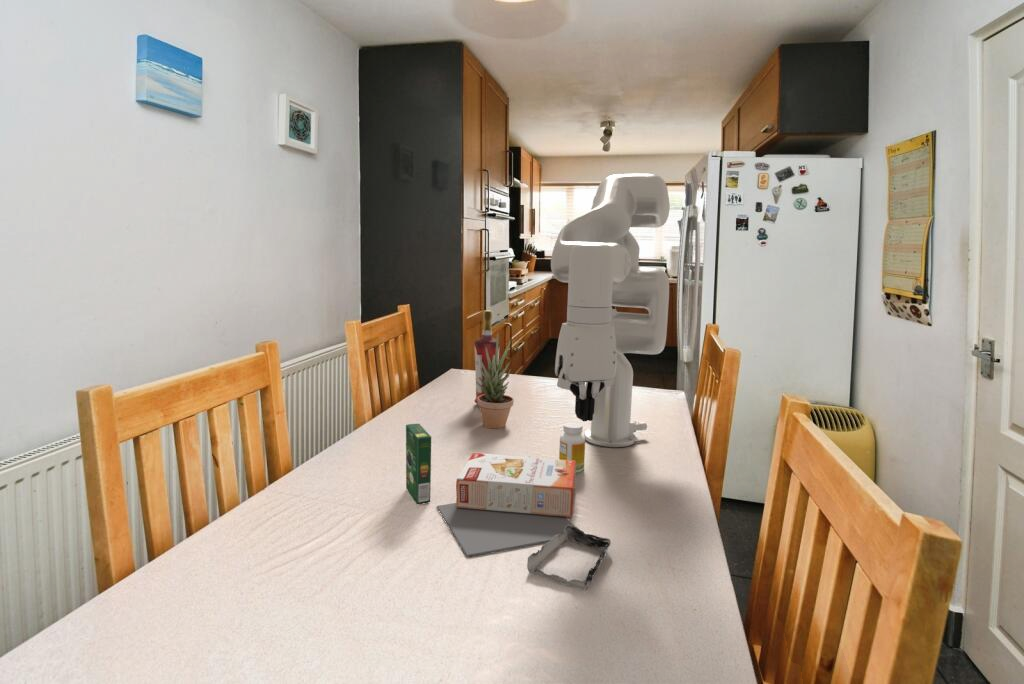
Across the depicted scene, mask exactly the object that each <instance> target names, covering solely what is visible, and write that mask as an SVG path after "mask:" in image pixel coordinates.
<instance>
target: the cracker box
mask: <svg viewBox="0 0 1024 684" xmlns="http://www.w3.org/2000/svg"><path fill="white" fill-rule="evenodd" d="M576 474H577V473H576V461H574V460H560V459H559V458H547V457H545V458H544V457H533V456H532V457H531V456H520V455H518V456H517V455H506V454H493V453H492V454H491V453H479V452H472V454H471V455H470V457H469V459H468V460H467V462H466V463H465V465H464V467H463V468H462V470H461V471H460V473H459V475H458V476H457V478H456V481H455V482H456V483H455V485H456V486H455V491H456V498H455V499H456V501H455V503H456V507H459V508H470V509H481V510H493V511H505V512H517V513H528V514H539V515H551V516H564V517H566V518H572V517H573V514H574V500H575V491H576V490H575V489H576Z"/></svg>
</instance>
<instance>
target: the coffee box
mask: <svg viewBox="0 0 1024 684" xmlns="http://www.w3.org/2000/svg"><path fill="white" fill-rule="evenodd" d="M405 457H406V458H405V460H406V461H405V462H406V464H405V477H406V478H405V482H406V483H405V485H406V487H405V488H406V490H407V492H408V494H409V495H410V496H411V497H412V499H413V501H414V503H415V504H416V505H417V504H419V505H424V504H423V503H425V504H429V503H428V502H430V503H431V492H432V491H431V489H432V487H431V483H432V482H431V479H432V477H431V475H432V472H431V471H432V435H430V433H429V432H428V431H427V430H426V429H425V428H424V427H423V426H422V425H421V424H420V423H408V424H406V425H405Z"/></svg>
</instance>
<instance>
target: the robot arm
mask: <svg viewBox="0 0 1024 684" xmlns="http://www.w3.org/2000/svg"><path fill="white" fill-rule="evenodd" d="M669 214H670V197H669V190H668V187H667V184H666V182H665V180H664V179H663V178H662V177H661V176H660V175H657V174H653V173H624V174H622V173H621V174H620V173H619V174H612V175H609V176H607V177H606V178H604V179H602V180H601V182H600V183H599V185H598V187H597V190H596V193H595V195H594V197H593V200H592V206H591V208H590V210H588V211H586V212H585V213H582V214H581V215H579V216H577V217H576V218H574V219H572V220H570V221H569V222H567V223H566V224H565V225H564V226H563V227H562V228H561V230H560V231H559V233H558V235H557V239H556V240H555V243H554V246H553V249H552V253H551V256H550V257H551V258H550V269H551V273H552V275H553V277H554V278H555V279H556V280H557V281H559V282H562V283H568V285H567V287H568V288H567V289H568V290H567V305H566V306H567V307H566V308H567V309H566V311H567V312H566V322H562V323H561V327H560V331H559V335H558V340H557V347H556V354H555V364H554V374H555V376H556V377H558V378H557V382H556V383H557V384H556V386H557V387H558V388H560V389H562V390H567V391H570V392H571V393H572V395H573V396H574V397H575V401H574V403H575V405H574V406H575V407H574V414H575V415H576V418H577V419H579V420H581V421H582V422H590V428H589V429H586V430H585V431H584V433H583V435H584V437H585V441H587V442H589V443H591V444H593V445H597V446H601V447H608V448H625V447H629V446H632V445H633V444H635V443H636V439H637V437H636V435H635V433H636V432H637V431H646V430H647V428H648V425H647V423H646V421H645V422H644V421H642V422H638V423H637V421H635V420H631V417H632V401H633V400H632V397H633V395H632V394H633V380H634V370H633V367H632V364H631V363H630V361H629V360H628V359H627V357H626V356H625V354H640V355H659V354H660V353H662V352H663V351H664V349H665V346H666V341H667V335H668V334H667V333H668V332H667V331H668V330H667V329H668V318H669V317H668V316H669V301H670V300H669V299H670V281H669V276H668V274H667V272H666V271H665V270H663V269H661V268H657V267H640V265H639V263H640V262H639V261H640V260H639V259H640V245H639V243H638V241H637V240H636V238H635V236H634V235H633V234H632V233H631V231H630V229H631V228H650V229H651V228H652V229H653V228H654V229H655V228H660V227H662V226H664V225H665V224H666V223H667V221H668V219H669ZM613 307H621V308H622V307H623V308H638V309H646V310H647V312H648V313H637V312H622V311H617V309H616V308H613Z"/></svg>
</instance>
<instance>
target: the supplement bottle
mask: <svg viewBox="0 0 1024 684" xmlns="http://www.w3.org/2000/svg"><path fill="white" fill-rule="evenodd" d="M585 450H586V439H585V437H584V434H583V424H582V423H578V422H566V423H564V424H563V432H562V433H561V434H560V436H559V453H558V454H559V455H558V459H560V460H574V461H576V474H577V473H581V472H582V471H584V469H585V457H586V456H585V455H586V451H585Z"/></svg>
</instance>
